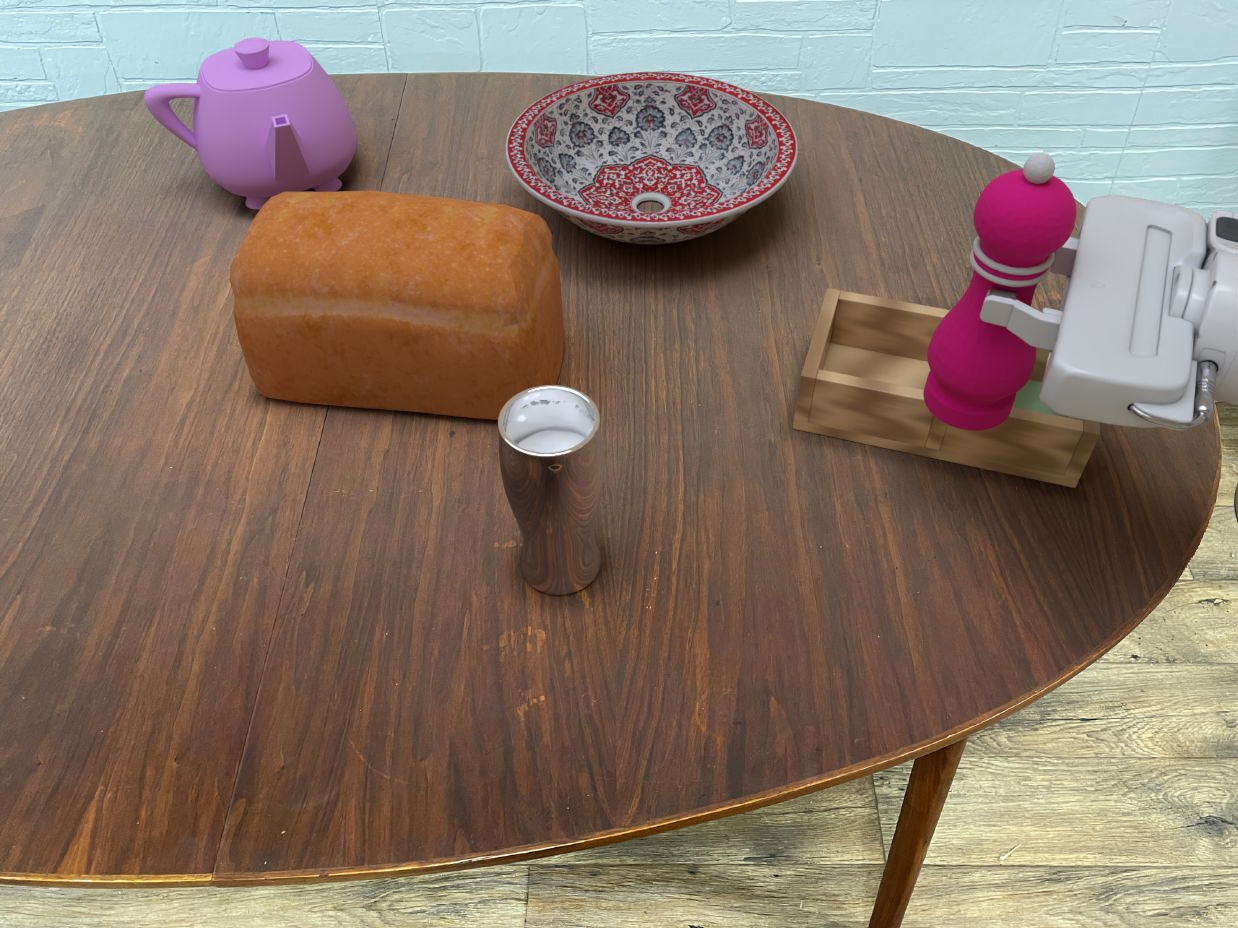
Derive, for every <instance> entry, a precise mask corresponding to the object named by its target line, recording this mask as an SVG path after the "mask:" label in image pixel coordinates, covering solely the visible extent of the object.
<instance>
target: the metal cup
mask: <svg viewBox="0 0 1238 928" xmlns="http://www.w3.org/2000/svg"><path fill="white" fill-rule="evenodd" d="M497 428H498V456H499V457H498V458H499V469H500V474H501V479H502V480H501V481H502V486H503V489H504V493H505V495H506V498H507V501H508V504H509V506H510V509H511V512H512V514H513V517H514V519H515V521H516V522H515V523H516V524H517V527H518V529H519V532H520V536H521V541H522V543H521V544H522V545H521V550H520V556H519V570H520V573H521V575H522V577H523V579H524V580H525V582H526V583H527V584H528V585H529V586H530V587H531V588H532V589H535V590H536V591H538V592H541V593H543V594H547V595H551V596H552V595H553V596H567V595H571V594H575V593H577V592H579V591H582V590H584V589H585V588H587V587H588V586H590V584H592V583H593V581H594V580H595V579H596V578H597V576H598V575H599V573H600V570H601V567H602V554H601V550H600V546H599V543H598V541H597V537H596V531H595V530H596V522H597V517H598V513H599V508H600V505H601V500H602V496H603V490H604V482H605V449H604V442H603V441H604V440H603V434H602V427H601V415H600V411H599V408H598V406H597V404H596V403H595V402H594V400H592V399H591V398H590V397H589V395H587V394H586V393H584V392H582V391H580V390H579V389H575V388H573V387H571V386H566V385H559V384H556V385H543V386H537V387H533V388H529V389H527V390H524V391H522V392H520V393H518V394H516V395H515V396H513V397H512V398H511V399H510V400H509V401H508V402H507V403H506V404H505V405H504V406H503V408H502V409H501V411H500V414H499V417H498V420H497Z"/></svg>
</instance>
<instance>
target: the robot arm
mask: <svg viewBox="0 0 1238 928" xmlns="http://www.w3.org/2000/svg"><path fill="white" fill-rule="evenodd" d="M1054 253H1055V256H1054V261H1053V263H1052V264H1051V269H1050V272H1049V273H1053V274H1057V275H1061V276H1065V281H1064V286H1063V290H1062V293H1061V294H1062V295H1061V299H1060V304H1059V306H1058V307H1059V308H1058V309H1055V308H1050V307H1045V306H1044V307H1043V308H1042V310H1038V309H1036V308H1034V307H1032V306H1031V307H1030V306H1028V305H1026V304H1024V303H1023V302H1021V301H1019V300H1017V299H1016V294H1017V292H1015V291H1010V290H1002V289H1000V288H997V287H991V288H990V289H988V291H987V294H986V297H985V300H984V303H983V306H982V309H981V313H980V318H981V320H982V321H984V322H987V323H991V324H995V325H999V326H1004V327H1007V329H1008V330H1009V331H1011V332H1012V333H1014V334H1015V335H1016V336H1018V337H1019V338H1021V339H1022V340H1023V341H1025V342H1026V343H1028V344H1029V345H1030V346H1033V347H1038V348H1042V349H1046V350H1050V351H1049V355H1048V360H1047V364H1046V368H1045V373H1044V377H1043V382H1042V386H1041V390H1040V395H1039V399H1040V401H1041V402H1042V403H1043V404H1044V405H1046V406H1047V407H1048V408H1049V409H1051V410H1052V411H1053V412H1055V413H1057V414H1060V415H1063V416H1068V417H1073V418H1078V419H1083V420H1088V421H1093V422H1099V423H1100V424H1107V425H1113V426H1121V427H1128V428H1138V429H1154V428H1158V427H1161V428H1164V429H1169V430H1173V431H1179V432H1185V431H1187V430H1188V429H1193V428H1195V427H1198V426H1201V424H1203V422H1207V421H1209V420H1210V419H1211V418H1212V416H1213V414H1214V411H1215V401H1218V402H1221V403H1225V404H1229V405H1233V406H1237V407H1238V213H1237V212H1233V211H1227V210H1215V211H1214V212H1212V213H1211V215H1210V217H1209V218H1208V221H1207V220H1206V219H1205V217H1204V216H1203V215H1202V214H1200V213H1199V212H1197V211H1196V210H1193V209H1191V208H1189V207H1185V206H1181V205H1178V204H1172V203H1168V202H1162V201H1157V200H1152V199H1146V198H1140V197H1133V196H1126V195H1118V194H1107V195H1102V196H1096V197H1092V198H1090V199H1089V200H1088V201H1087V203H1086V205H1085V208H1084V211H1083V214H1082V216H1081V219H1080V221H1079V225H1078V228H1077V230H1076V233H1075V237H1072V236H1070V238H1069V239H1068V240H1067V242H1066V243H1065V244H1064V245H1063V246H1062V247H1061V248H1059V249H1058V250H1057V251H1055V252H1054ZM1015 299H1016V300H1015ZM1233 495H1234V496H1233V509H1234V515H1235V518H1236V521H1237V523H1238V483H1236V487H1235V490H1234V494H1233Z"/></svg>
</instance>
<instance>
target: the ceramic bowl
mask: <svg viewBox="0 0 1238 928" xmlns="http://www.w3.org/2000/svg"><path fill="white" fill-rule="evenodd" d="M504 150H505V151H504V152H505V158H506V163H507V166H508V168H509V171H510V173H511V175H512V176H513V177H514V179H515V181H516V182H517V183H518V184H519V185H520V187H522V188H523V189H524V190H525V191H526V192H527V193H528V194H529V195H531V196H533V198H535V199H537V200H538V201H539V202H542V203H543V204H545V205H546V206H549V208H552V209H553V210H554V211H555V212H556V213H558V214H559V215H560V216H562V217H563V218H564V219H566V220H568V222H570V223H572V224H574V225H575V226H577V227H579V228H581V229H583V230H585V231H587V232H589V233H592V234H594V235H597V236H599V237H602V238H605V239H608V240H613V241H617V242H622V243H628V244H637V245H664V244H665V245H666V244H674V243H679V242H685V241H689V240H693V239H697V238H700V237H703V236H707V235H708V234H711V233H713V232H715V231H718V230H720V229H722V228H723V227H726V226H727V225H729V224H730V223H732V222H734V221H735V220H737V219H738V218H739V217H741V216H742V215H743V214H745V213H746V212H748V210H750V209H752V208H753V207H755V206H757V205H759V204H761V203H762V202H764V201H766V200H767V199H769V198H770V197H771V196H773V195H774V194H775V193H776V192H778V191H779V189H781V188H782V186H784V184H785V183H786V182H787V180H788V179H789V178H790V177H791V175H792V173H793V171H794V170H795V166H796V164H797V161H798V157H799V144H798V138H797V135H796V133H795V130H794V128H793V127H792V125H791V122H790V121H789V120H788V119H787V118H786V116H784V114H783V113H782V112H781V111H780V110H779V109H778V108H777V107H775V106H774V105H772V104H771V103H770V102H768V101H767V100H765V99H764V98H762V97H761V96H759V95H757V94H755V93H753V92H751V91H749V90H747V89H744V88H742V87H740V86H737V85H734V84H731V83H729V82H726V81H722V80H719V79H715V78H710V77H706V76H702V75H701V76H700V75H695V74H689V73H688V74H687V73H678V72H665V71H640V72H639V71H637V72H624V73H615V74H609V75H602V76H597V77H593V78H588V79H585V80H581V81H578V82H574V83H571V84H568V85H566V86H563V87H560V88H558V89H556V90H554V91H552V92H550V93H548V94H546V95H544V96H543V97H541V98H539V99H538V100H536V101H534V102H533V103H532V104H530V105H529V106H528V107H526V108H525V109H524V110H523V111H522V112H521V113H520V114H519V116H517V117H516V119H515V121H514V122H513V123H512V125H511V127H510V128H509V130H508V133H507V136H506V140H505V146H504ZM647 201H653V202H654V201H655V202H658V203H661V204H662V205H663V209H662V210H660V211H657V212H643V211H641V210H639V209H638V208H637V207H638V205H639V204H640V203H643V202H647Z"/></svg>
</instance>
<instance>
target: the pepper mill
mask: <svg viewBox="0 0 1238 928" xmlns="http://www.w3.org/2000/svg"><path fill="white" fill-rule="evenodd" d="M1055 168H1056V164H1055V161H1054V159H1053V158H1052V157H1051V155H1048V154H1047V153H1040V152H1039V153H1034V154H1032V155H1031V156H1029V157H1028V158H1027V159H1026V160H1025V163H1024V164H1023V168H1022V169H1013V170H1010V171H1007V172H1005V173H1002V174H1000V175H998V176H997V177H995V178H993V179H992V180H991V181H990V182H989V183H988V184H987V185H985V187H984V188H983V189H982V191H981V192H980V194H979V196H978V198H977V201H976V203H975V206H974V210H973V216H972V219H973V226H974V230H975V232H976V234H977V236H976V237H975V238H974V240H973V243H972V249H971V251H970V254H969V260H970V265H971V267H972V269H973V271H972V272H973V273H972V277H971V279H970V281H969V284H968V287H967V288H966V290H965V291H964V294H963V295H962V296H961V297H960V299H959V300H958V301H957V302H956V303H955V305H954V306H953V307H952V308H951V309H949V310H950V311H949V312H948V313H947V314H946V315H945V316H944V318H943V319H942V320H941V322H940V323H939V325H938V326H937V328H936V330H935V331H934V333H933V335H932V338H931V340H930V343H929V346H928V350H927V359H928V364H929V367H930V372H929V374H928V377H927V381H926V384H925V388H924V393H923V396H924V402H925V404H926V406H927V408H928V409H929V411H930V412H931V413H932V414H933V415H934V416H935V417H936V418H937V419H938V420H940V421H942V422H944V423H946V424H947V425H949V426H952V427H955V428H958V429H963V430H971V431H982V430H987V429H992V428H994V427H996V426H998V425H1000V424H1002V423H1003V422H1004V421H1005V420H1006V419H1007V418H1008V416H1009V415H1010V412H1011V409H1012V407H1013V404H1014V401H1015V398H1016V392H1017V391H1019V390H1020V389H1021V388H1022V387H1024V386H1025V385H1026V383H1027V382H1028V381H1029V379H1030V377H1031V375H1032V373H1033V369H1034V365H1035V360H1036V347H1033V346H1030V345H1029V344H1028V343H1026V342H1025V341H1023V340H1022V339H1021V338H1019V337H1018V336H1016V335H1015V334H1014V333H1012V332H1011V331H1009V330H1008V329H1007V327H1004V326H999V325H995V324H991V323H987V322H984V321H982V320H981V318H980V313H981V309H982V306H983V303H984V300H985V297H986V294H987V291H988V289H990V288H991V287H997V288H1000V289H1002V290H1010V291H1015V292H1017V294H1016V299H1017V300H1019V301H1021V302H1023V303H1024V304H1026V305H1028V306H1030V307H1032V303H1033V300H1034V295H1035V291H1036V288H1037V286H1038V285H1039V283H1041V282H1043V281H1044V280H1045V279H1047V277H1048V276H1049V275H1050V273H1051V272H1050V269H1051V264H1052V263H1053V261H1054V256H1055V253H1054V252H1055V251H1057V250H1058V249H1059V248H1061V247H1062V246H1063V245H1064V244H1065V243H1066V242H1067V240H1068V239H1069V238H1070V237H1071V236H1072V234H1073V231H1074V229H1075V225H1076V220H1077V213H1078V211H1077V210H1078V209H1077V202H1076V199H1075V196H1074V194H1073V192H1072V191H1071V189H1070V188H1069V186H1067V184H1066V183H1065V182H1064V181H1063V180H1062V179H1061V178H1059V177H1058V176H1057V177H1056V176H1055V175H1054V174H1055V171H1056V170H1055ZM1016 299H1015V300H1016Z"/></svg>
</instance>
